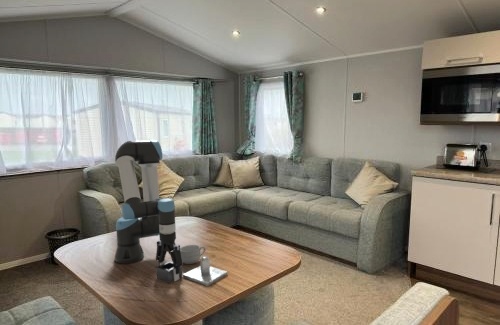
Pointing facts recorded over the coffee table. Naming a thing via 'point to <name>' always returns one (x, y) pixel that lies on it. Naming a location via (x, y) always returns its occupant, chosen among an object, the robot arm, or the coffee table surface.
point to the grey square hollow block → (167, 272)
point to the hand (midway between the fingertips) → (169, 277)
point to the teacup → (191, 253)
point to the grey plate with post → (205, 273)
